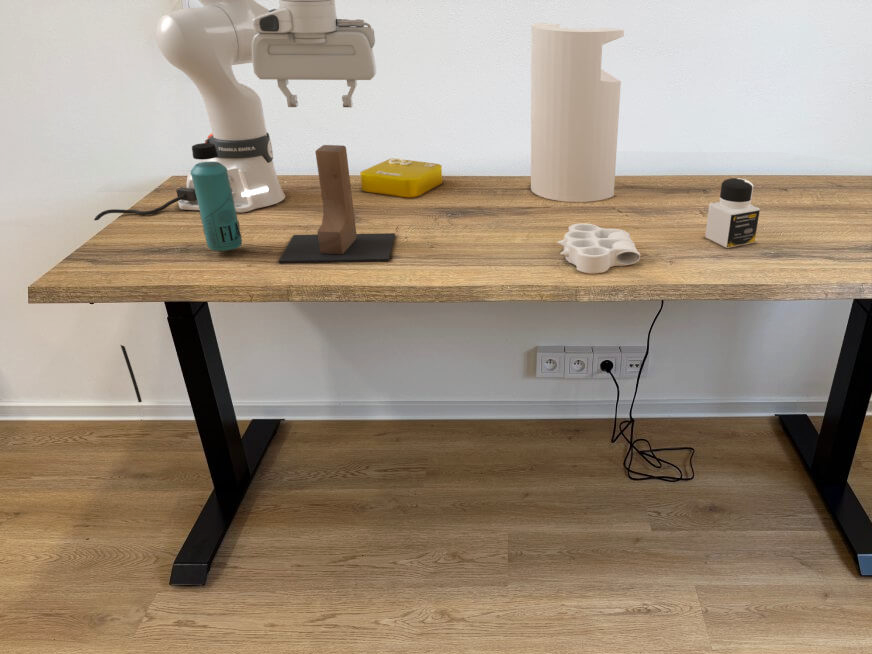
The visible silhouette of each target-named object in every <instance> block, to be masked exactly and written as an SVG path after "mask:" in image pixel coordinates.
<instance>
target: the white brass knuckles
mask: <svg viewBox="0 0 872 654" xmlns="http://www.w3.org/2000/svg"><path fill="white" fill-rule="evenodd" d="M556 244H558V245H560V246H562V247H563V250H562V251H561V252H560V253H559V254H560V255H561V256H564V257H565V260H566V261H567V262H568V263H569V264H571V265H574V266H575V267H576V270H577V271H578V272H579V273H583V274H588V275H589V274H591V275H592V274H593V275H595V274H602V273H605V272H607V271H608V270H609V269H610V268H613V267H625V266H631V265H634V264H636V263H638V262H639V261H640V260H641V253H640V252H639V251H638V249H637V248H636V243H635V242H633V240H632V238H631V233H630V232H627V231H626V230H624V229H621V228H604V227H600V226H598V225H596V224H593V223H586V222H585V223H583V222H581V223H573V224H571V225H569V226H568V232H565V234H564V236H563V239H561V240H558V241H556Z"/></svg>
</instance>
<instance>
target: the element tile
mask: <svg viewBox="0 0 872 654" xmlns="http://www.w3.org/2000/svg"><path fill="white" fill-rule="evenodd" d="M442 167H443V166H442V165H441V164H440V163H435V162H427V161H418V160H410V159H403V158H400V157H399V158H397V157H396V158H393V157H392V158H389V159H386V160H383V161H381V162H379V163H378V164H375V165H373V166H370V167H368V168H366V169H364V170H362V171H360V174H359V175H360V184H361V190H362V191H363V192H365V193H371V194H378V195H384V196H385V195H386V196H391V197H399V198H409V199H412V198H413V199H414V198H418V197H420V196H422V195H424V194H426V193H427V192H429V191H431V190H433V189H435V188H436V187H438V186H440V185H442V183H443V168H442Z"/></svg>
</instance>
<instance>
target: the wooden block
mask: <svg viewBox="0 0 872 654" xmlns="http://www.w3.org/2000/svg"><path fill="white" fill-rule="evenodd" d="M315 158H316V159H315V160H316V165H317V172H318V173H317V174H318V179H319V186H320V187H319V188H320V194H321V202H322V221H321V225H320V226H319V227H318V229H317V235H318V240H319V247H320V252H321V253H323V254H343V253H344V252H345V251H346V250H347V249H348V248H349V247H350V246H351V244H352V243H353V242H354V241H355V240H356V239H357V234H358V233H357V226H356V218H355V209H354V202H353V201H354V200H353V194H352V185H351V176H350V170H349V160H348V152H347V147H346V145H338V144H336V145H335V144H323V145H322V146H320V147H318V148H317V149H316V150H315Z"/></svg>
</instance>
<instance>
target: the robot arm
mask: <svg viewBox="0 0 872 654" xmlns="http://www.w3.org/2000/svg"><path fill="white" fill-rule="evenodd" d="M198 2H199V3H200V4H201V5H202V6H201V7H200V6H199V7H186V8H185V7H184V8H181V9H178V10H174V11H172V12H168V13H165V14H163V15H162V16H160V17H159V19H158V21H157V25H156V29H155V35H156V36H155V38H156V43H157V46H158V49H159V51H160V53H161V54H162V56H163V57H164V58H165V60H167V62H168V63H169V64H171V65H172V66H173V67H175V68H177V69H178V70H180V71H181V72H183V74H185V75H186V76H187V77H188V78H189V79H190V80H191V81H192V83H193V84H194V85H195V86H196V88H197V90H198V92H199V93H200V95H201V97H202V99H203V102H204V105H205V109H206V112H207V116H208V119H209V124H210V128H211V133H210V134H208V136H207V138H206V139H205V140H204V143H212V144H214V145H215V147H216V151H217V153H218V156H217V157H215V158H212V159H203V160H200V161H199V162H198V163H201V162H209V161H213V162H219V163H221V164H222V165H223V166H225V167H226V168H227V173H228V178H229V182H230V186H231V187H232V190H231V191H232V195H233V198H234V199H233V201H234V202H235V203H234V206H235V209H236V213H248V212H250V211H254V210H256V209H261V208H266V207H270V206H273V205H275V204H279V203H280V202H283V200H285V198H286V194H285V192H284V190H283V188H282V186H281V183H280V180H279V178H278V175H277V172H276V169H275V165H274V162H273V161H274V152H273V145H272V141H271V139H270V138H271V137H270V134H269V132H268V131H267V127H266V120H265V115H264V108H263V103H262V99H261V97H260V96H259V94H258V93H257V92H256V91H255V90H254V89H253V88H251V87H250V86H247V85H245V84H243V83H240V82H239V81H238V79H237V78H236V76H235V74H234V71H233V68H232V67H233V66H236V65H244V64H252V68H253V69H252V70H253V73H254V75H255V76H256V78H258V80H272V81H273V80H276V81H277V87H278V88H279V90H280V91H281V93H282V94H283V95H284V96H285V97H286V103H287V104H286V105H287V107H288V108H298V107H299V101H298V95H297V94H292V92H291V91H290V89H289V87H288V85H289V84H290V83H289V80H291V81H292V80H296V81H298V80H299V81H301V80H303V81H346V87H348V88H349V90H348V92H347V94H343V95H342V96H341V100H342V107H343V108H353V107H354V105H353V103H354V102H353V95H354V92H355V90H356V88H357V86H358V81H371V80H373V78H374V77H375V76H376V74H377V65H376V64H377V63H376V58H375V54H374V53H375V52H374V50H373V49H374V46H375V44H376V38H375V37H376V36H375V30H374V28H373V26H372V25H371V24H370V23H368V22H366V21H365V20H364V19H359V18H358V19H345V18H344V19H342V18H337V17H338V16H337V9H336V0H278V3H279V6H278V7H279V8H273V9H270V10H269V9H268V8H267V7H265V6H263V5H262V4H260V3H259V2H257V1H255V0H198ZM175 191H176V195H177V197H175V198H173V199H171V200H169V201H167V202H166V203H164V204H162V205H161V206H159V207H157V208H154V209H151V210H144V211H143V210H139V209H119V208H118V209H117V208H116V209H115V208H114V209H113V208H111V209H106V210H103V211H101V212H100V213H98V214H97V215H96V216H95V218H94V219H93V221H98V220H100V219H101V218H102V217H104V216H106V215H109V214H137V215H141V216H148V215H149V216H150V215H154V214H156V213H159V212H161V211H163V210H165V209H166V208H168V207H169V206H171V205H173V204H174V203H176V202H177V203H178V208H179V209H180V210H185V211H186V210H187V211H200V210H199V205H198V201H197V197H196V193H195V188H194V184H193V180H192V176H191V173H190V172H189V173H188V174H187V177H186V186H185V187H179V188H176V189H175ZM120 349H121V351H122V354H123V357H124V360H125V363H126V366H127V369H128V372H129V375H130V378H131V381H132V386H133V389H134V392H135V394H136V398H137V402H138V403H142V402H143V401H142V396H141V394H140V390H139V387H138V383H137V381H136V380H137V379H136V377H135V373H134V370H133V368H132V365H131V361H130V359H129V356H128V352H127V349H126V346H125V345H122V344H120Z"/></svg>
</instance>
